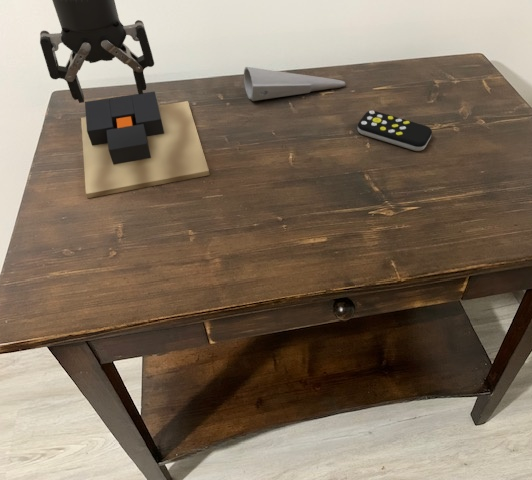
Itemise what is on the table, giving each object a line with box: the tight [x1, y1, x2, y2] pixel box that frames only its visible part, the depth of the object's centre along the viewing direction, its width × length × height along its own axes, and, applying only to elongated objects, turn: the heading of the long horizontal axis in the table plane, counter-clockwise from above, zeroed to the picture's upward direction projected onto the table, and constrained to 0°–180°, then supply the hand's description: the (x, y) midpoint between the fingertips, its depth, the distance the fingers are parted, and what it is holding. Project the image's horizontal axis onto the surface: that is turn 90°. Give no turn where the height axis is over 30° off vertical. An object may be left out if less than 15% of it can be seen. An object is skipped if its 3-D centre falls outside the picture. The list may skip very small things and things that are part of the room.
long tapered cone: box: [243, 66, 346, 102], centre depth 103 cm, size 6×6×19 cm
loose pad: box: [106, 116, 151, 164], centre depth 88 cm, size 6×8×3 cm
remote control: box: [357, 110, 433, 152], centre depth 95 cm, size 6×13×2 cm, turn 64°
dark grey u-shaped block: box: [84, 91, 164, 146], centre depth 93 cm, size 12×9×3 cm
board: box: [80, 100, 210, 199], centre depth 91 cm, size 19×21×1 cm
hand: (111, 95), depth 80 cm, fingers open, 8 cm apart
